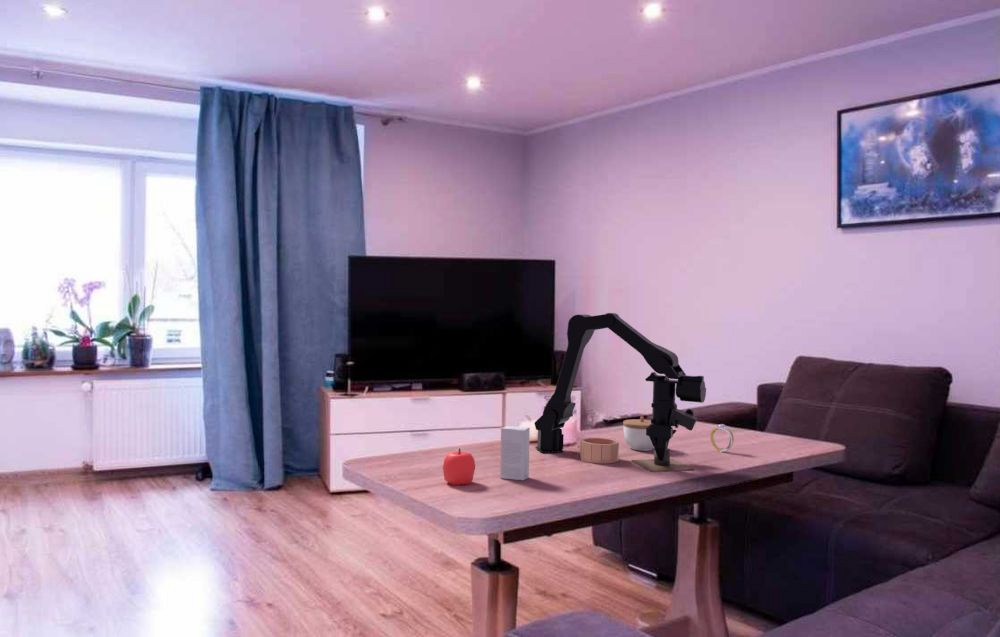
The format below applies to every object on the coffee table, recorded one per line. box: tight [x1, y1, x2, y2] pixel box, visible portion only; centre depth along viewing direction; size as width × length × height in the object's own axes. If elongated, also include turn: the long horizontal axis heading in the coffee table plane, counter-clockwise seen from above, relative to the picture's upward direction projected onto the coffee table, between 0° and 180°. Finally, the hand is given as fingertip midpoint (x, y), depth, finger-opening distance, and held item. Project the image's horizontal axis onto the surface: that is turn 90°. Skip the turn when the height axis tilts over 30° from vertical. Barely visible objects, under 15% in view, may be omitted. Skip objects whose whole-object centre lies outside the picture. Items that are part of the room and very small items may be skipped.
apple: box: [442, 447, 476, 486], centre depth 170 cm, size 8×8×8 cm
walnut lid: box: [631, 448, 695, 473], centre depth 194 cm, size 12×12×5 cm
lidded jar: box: [622, 416, 654, 452], centre depth 216 cm, size 11×11×9 cm
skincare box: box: [499, 425, 531, 481], centre depth 176 cm, size 6×4×12 cm
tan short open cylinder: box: [579, 437, 620, 465], centre depth 199 cm, size 10×10×5 cm
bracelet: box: [710, 423, 735, 453], centre depth 214 cm, size 7×3×8 cm, turn 35°
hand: (662, 458), depth 194 cm, fingers open, 4 cm apart
